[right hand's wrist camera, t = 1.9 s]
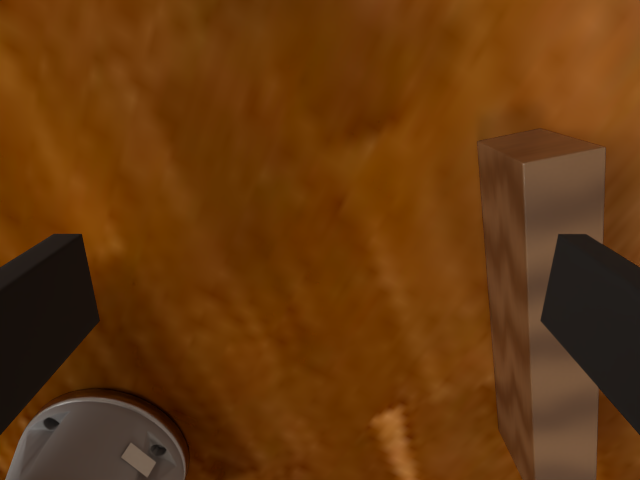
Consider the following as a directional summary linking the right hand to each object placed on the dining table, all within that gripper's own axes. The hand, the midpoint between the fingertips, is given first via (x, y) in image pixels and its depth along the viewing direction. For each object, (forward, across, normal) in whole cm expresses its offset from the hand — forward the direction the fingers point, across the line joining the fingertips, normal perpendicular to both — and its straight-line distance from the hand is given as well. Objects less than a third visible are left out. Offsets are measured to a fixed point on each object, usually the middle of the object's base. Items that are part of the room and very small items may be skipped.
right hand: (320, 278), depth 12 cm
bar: (+21, -16, +12) cm, 30 cm away
